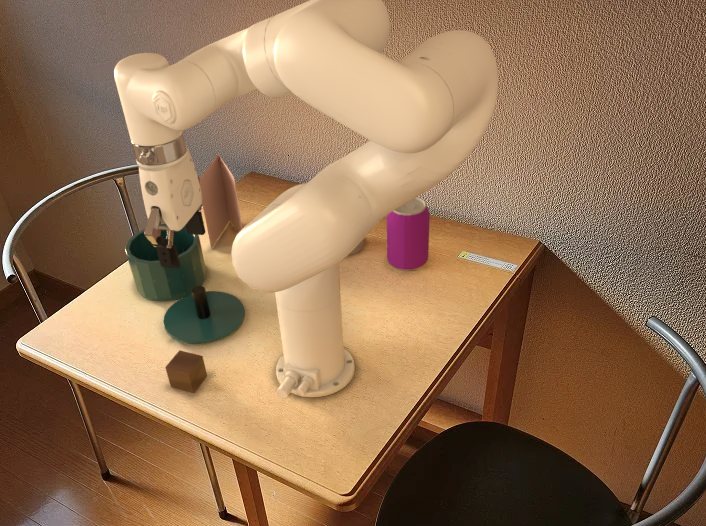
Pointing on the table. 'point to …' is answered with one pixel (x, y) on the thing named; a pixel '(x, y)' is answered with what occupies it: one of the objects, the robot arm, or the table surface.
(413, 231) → the beverage can
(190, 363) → the block
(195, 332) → the lid
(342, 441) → the table surface
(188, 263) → the pot
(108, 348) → the table surface
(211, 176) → the greeting card
